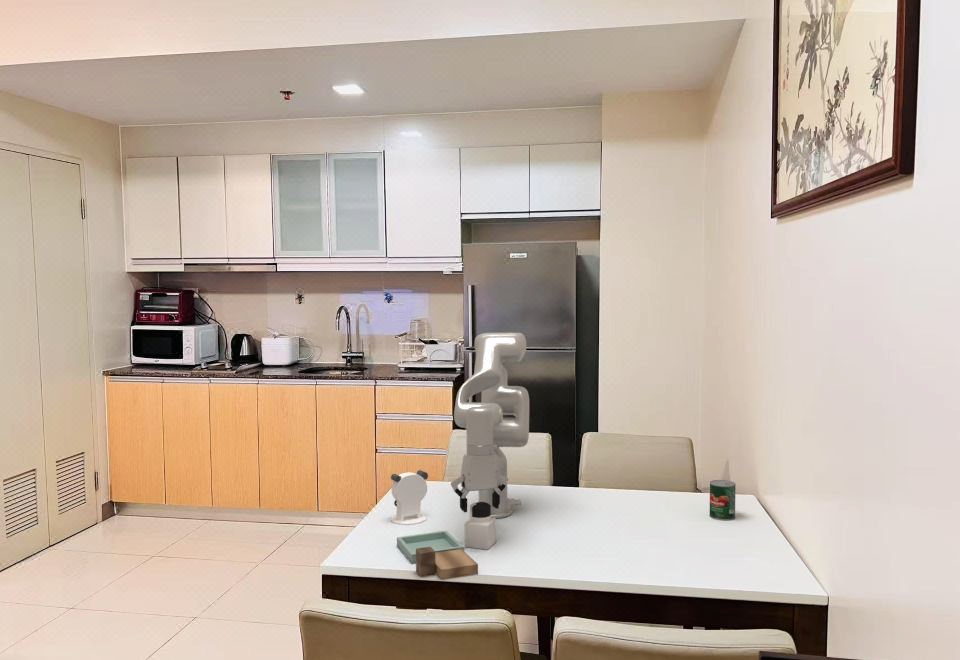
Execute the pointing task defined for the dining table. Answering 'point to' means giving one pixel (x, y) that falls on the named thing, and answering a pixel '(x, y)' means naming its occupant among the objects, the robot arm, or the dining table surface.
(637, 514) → the dining table surface
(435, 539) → the tray
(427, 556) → the dark brown wooden block
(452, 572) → the tan wooden block
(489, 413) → the robot arm
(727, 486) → the canned tomato
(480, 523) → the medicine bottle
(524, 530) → the dining table surface
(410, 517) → the panda figurine
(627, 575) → the dining table surface
